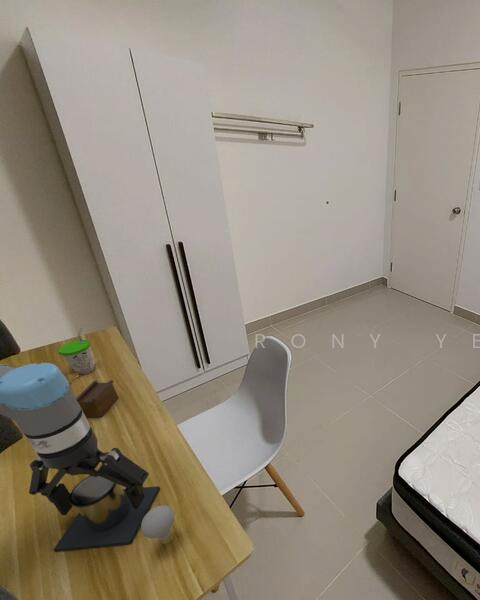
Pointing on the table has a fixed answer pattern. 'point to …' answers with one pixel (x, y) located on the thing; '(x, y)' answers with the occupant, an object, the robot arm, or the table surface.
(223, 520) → the table surface
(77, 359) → the cup
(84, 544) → the mat
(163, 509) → the light bulb
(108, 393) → the dark brown wooden block
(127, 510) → the pot
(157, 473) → the table surface
